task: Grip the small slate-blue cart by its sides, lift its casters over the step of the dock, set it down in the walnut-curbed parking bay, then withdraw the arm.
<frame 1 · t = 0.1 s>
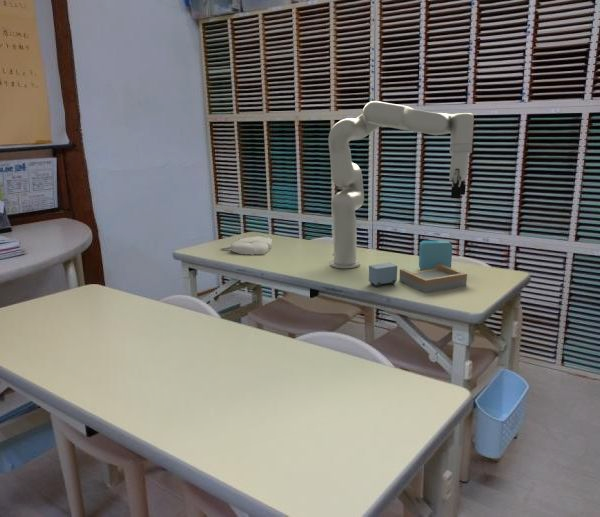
hand: (458, 196, 183), 31 cm above the table, tool pointing down, fingers open, 9 cm apart
dock: (432, 283, 185), on the table
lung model: (244, 251, 241), on the table
cart: (382, 284, 185), on the table
data package: (434, 271, 200), on the table
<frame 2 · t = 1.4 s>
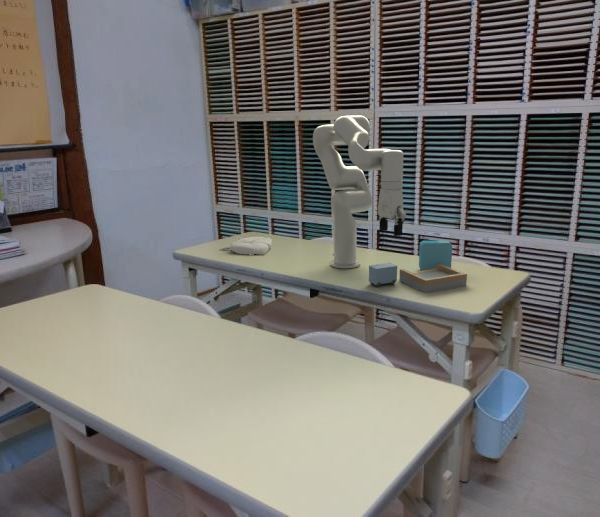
hand: (390, 233, 180), 19 cm above the table, tool pointing down, fingers open, 9 cm apart
nothing on the table moved.
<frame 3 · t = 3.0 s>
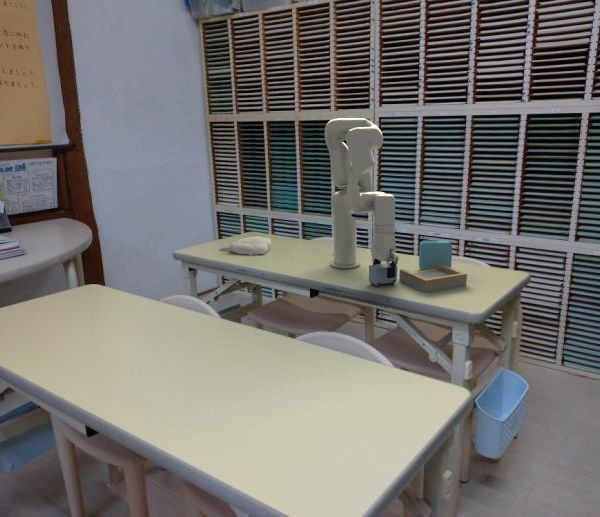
hand: (383, 274, 183), 4 cm above the table, tool pointing down, fingers open, 9 cm apart
nothing on the table moved.
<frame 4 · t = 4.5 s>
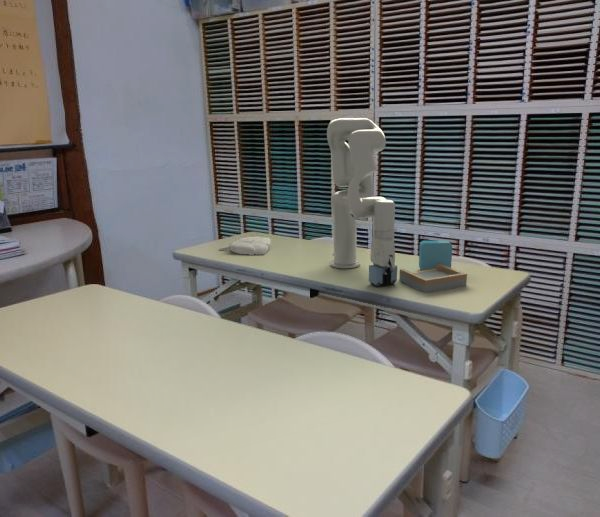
hand: (382, 281, 184), 1 cm above the table, tool pointing down, fingers closed on cart, 5 cm apart
cart: (382, 284, 185), on the table, touching gripper
everything else where it was.
when the fingers open (5 cm above the table, at t = 11.2 s): cart drops 2 cm, resting on dock.
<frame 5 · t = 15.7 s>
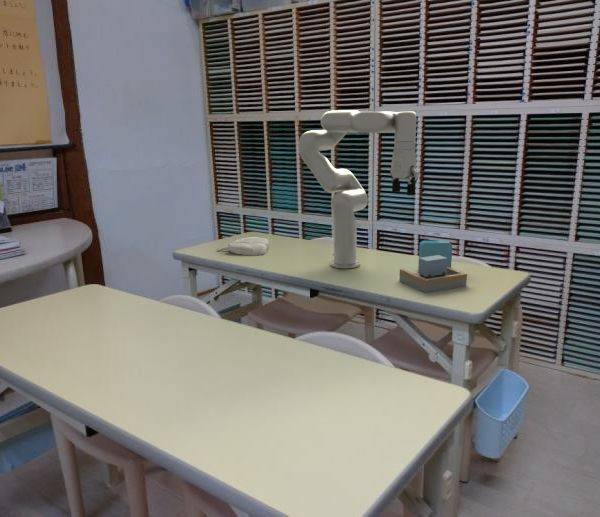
hand: (403, 193, 186), 32 cm above the table, tool pointing down, fingers open, 9 cm apart
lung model: (242, 252, 240), on the table
cart: (432, 276, 184), point 2 cm above the table, touching dock
everything else where it was.
at the end: cart inside the target area on the dock (0.5 cm from its centre), point 2.5 cm above the dock's base; cart tilted 0°; the gripper is holding nothing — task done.
